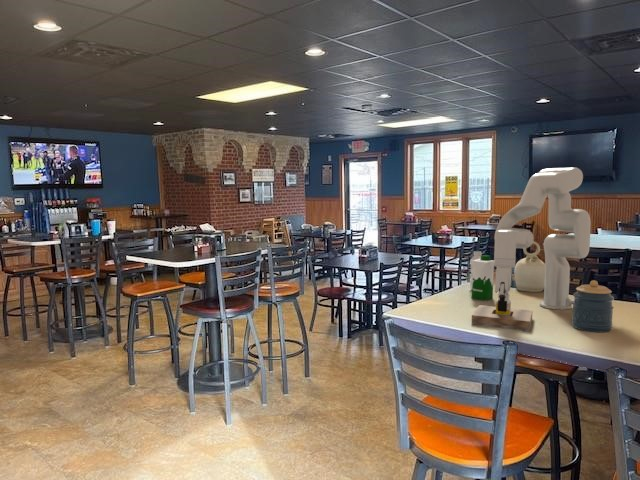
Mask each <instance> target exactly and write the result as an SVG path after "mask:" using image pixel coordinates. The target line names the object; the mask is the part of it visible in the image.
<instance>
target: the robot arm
mask: <svg viewBox="0 0 640 480" xmlns="http://www.w3.org/2000/svg"><path fill="white" fill-rule="evenodd" d="M583 179H584V174H583V171H582V170H581V169H580V168H578V167H552V168H551V167H550V168H549V167H548V168H543V169H541V170H540V171H538V172H537V173H535V174H533V175H531V177H530V178H529V180H528V182H527V183H526V184H527V185H526V186H525V189H524V191H523V193H522V195H521V198H520V200H519V203H518V204H517V205H515V206H513V207H512V208H511V209H510V210H509V211H507V212H506V213H504V214H503V216H502V217H501V219H499V222H498V224H497V226H496V229H495V232H494V237H493V238H494V251H493V253H494V255H493V256H494V257H493V260H494V268H496V269H495V281H494V282H495V285H494V293H497V294H499V297H498V296H497V299H498V311H503V312H506V311H507V301H506V298H507V294H509V293H510V291H511V288H512V287H511V286H512V274H513V272H512V271H513V270H512V269H513V268H514V269H515V266H516V259H517V258H516V253H517V249H524V248H530V247H531V246H532V245H533V244H532V243H533V241H534V240H535V238H534V237H535V235H534V234H533V232H532V231H531V230H530V229H529V230H528V229H526V228H515V227H514V225H516V224H517V223H518V222H520V221H522V220H525V219H529V218H531V217H534V216H536V215H538V214H539V213H541V211H542V209H543V206H544V204H545V202H546V199H547V198H548V215H547V217H548V220H547V221H548V226H549V228H550V230H552V231H557V232H568V233H569V232H571V233H573V234H574V235H573V234H566V233H565V234H564V233H563V234H562V233H551V234H548V235H547V236H546V237H545V238H544V241H543V250H544V258H545V259H544V261H545V262H544V263H545V283H544V288H543V301H542V300H541V301H540V302H539V306H540V307H542V308H545V309H549V310H557V311H558V310H560V311H561V310H563V311H569V310H571V309H573V302H574V299H573V298H572V299H571V298H570V296H569V293H570V292H569V291H570V275H571V274H570V273H571V271H570V270H571V267H570V264H569V261H568V260H567V259H566V258H571V259H585V258H586V257H587V256H588V255H589V252H590V245H591V224H592V221H591V215H590V214H589V212H588V211H586V209H581V208H572V196H571V193H570V192H571V191H574V190H576V189H578V188H579V187H580V186H581V185H582V182H583ZM534 242H535V241H534ZM508 300H510V298H509V299H508Z"/></svg>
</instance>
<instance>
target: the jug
mask: <svg viewBox="0 0 640 480" xmlns="http://www.w3.org/2000/svg"><path fill="white" fill-rule="evenodd" d="M532 245H534V246H535V247H536V251H535V252H533V253H530V252H528V251H527V248H524V249H523V254H524V255H526V257H524V258H521V259H519V260H518V261H517V262H516V263H515V267H514V273H513V274H514V281H515V286H516V289H517V290H518V291H522V292H529V293H532V292H533V293H539V292H541V293H542V292H544V283H545V262H543V260H542V259H540V258H539V257H538V255H539V253H540V251H541V247H540V245H539V243H538V242H536V241H533V243H532Z"/></svg>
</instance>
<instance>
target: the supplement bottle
mask: <svg viewBox="0 0 640 480" xmlns="http://www.w3.org/2000/svg"><path fill="white" fill-rule="evenodd" d="M498 297H499V293H497V299H496V300H495V307H496V314H498V315H507V316H510V311H511V308H512V305H511V304H512V301H511V300H510V294H509V293H508V294H507V298H506V301H507V311H506V312H503V311H498ZM508 299H509V300H508Z"/></svg>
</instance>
